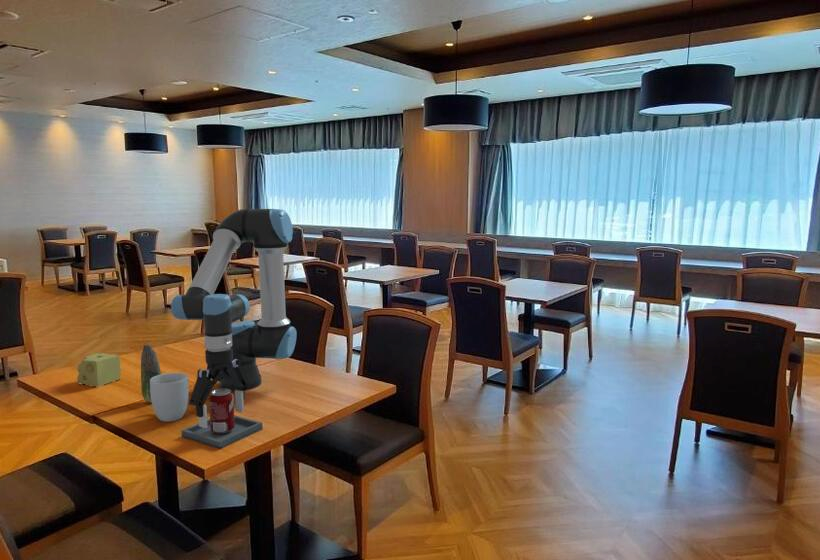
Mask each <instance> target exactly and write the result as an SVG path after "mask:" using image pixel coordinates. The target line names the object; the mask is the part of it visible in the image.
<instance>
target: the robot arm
mask: <svg viewBox="0 0 820 560" xmlns="http://www.w3.org/2000/svg"><path fill="white" fill-rule="evenodd" d="M293 233H294V229H293V223H292V219H291V217H290V215H289V213H288V212H287V211H286V210H284V209H280V208H279V209H277V208H242V209H238V210H236V211H234V212H232V213H231V214H229V215H227V216H226V217H225V218H224V219H223V220H222V221H221V222H220V223H219V224H218V226H217V227H216V228H215V230H214V232H213V234H212V239H213V241H212V242H211V244H210V247H209V248H208V250H207V252H206V254H205V256H204V257H203V260H202V261H201V263H200V265H199V267H198V269H197V271H196V274H195V275H194V277H193V279H192V280H191V283H190V285H189V287H188V289H187V290H186V292H185V294H178V295H176V296H174V297H173V298H172V301H171V305H170V308H171V309H170V310H171V313H172V315H173V317H174V318H175V319H178V320H186V321H191V320H192V321H203V329H204V333H203V334H204V335H203V339H204V349H205V350H204V353H205V354H204V355H205V358H204V359H205V362H206V365H207V367H206V369H201V368H200V369H198V370H197V375H196V376H197V377H196V380H195V382H194V383H195V384H194V387H193V389H192V393H191V395H190V398H189V400H188V404H189V405H190V406H194V407H195V411H196V417H197V418H198V423H199V426H200V427H203V428H207V427H208V426H207V420H208V412H207V409H208V408H207V406H208V405H206V404H205V403H206V401H207V400H208V399H209V397H210V396H209V395H211V392H212V391H213V388H214V387H215V385H216V384H217V383H218V388H219V389H230V390H231V392H233V391H234V400H235V401H234V404H235V405H234V406H235V412H239V413H244V412H245V406H244V405H245V403H244V402H245V397H246V395H245V394H246V393H245V392H246V391H247V390H250V389H253V388H257V387H259V386H260V385H261V384H262V375H261V374H260V370H259V367H258V363H257V361H256V360H257V359H271V360H272V359H273V360H274V359H276V360H281V359H283V360H284V359H288V358H290V357H291V356H292V354H293V353H294V350H295V346H296V342H297V333H298V332H297V329H296V328H295V327H294V326H291V320H290V319H289V318H288V317H287V315H286V313H287V312H286V289H285V288H286V287H285V265H284V252H285V250H286V249H287V248H288V243H291V242H292V240H293ZM246 242H247V243H252V244H253V249H254V250H255V251H256V252H257V254H258V255H257V256H258V273H259V274H258V275H259V294H260V315H261V318H260V320H259V321H258V322H257V323H255V321H252V320H243V321H239V320H242V319H243V318H244V317H245V316H246V315H247V314H248V313H249V312H250V308H251V304H250V301H249V300H248V298H247V297H246V296H245V295H243V294H241V293H239V294H237V293H236V294H231V295H229V294H225V293H215V292H216V290H217V287H218V285H219V283H220V282H221V279H222V277H223V275H224V274H225V271H226V269H227V267H228V264H229V262H230V260H231V259H232V257H233V254H234V252H235V251H236V250H238V249H239V248H240V247H241V245H242V244H243V243H246Z"/></svg>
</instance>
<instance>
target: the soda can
mask: <svg viewBox="0 0 820 560" xmlns="http://www.w3.org/2000/svg"><path fill="white" fill-rule="evenodd" d="M234 400H235V399H234V395H233V394H232V390H230V389H221V388H218V389H217V388H216V389H212V390H211V392H210V396H209V397H208V404H209V407H208V408H209V419H210V430H211V432H213V433H216V434H226V433H229V432H230V431H232V430H233V429H234V428H235V423H234V415H235V405H234V404H235V401H234Z"/></svg>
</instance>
